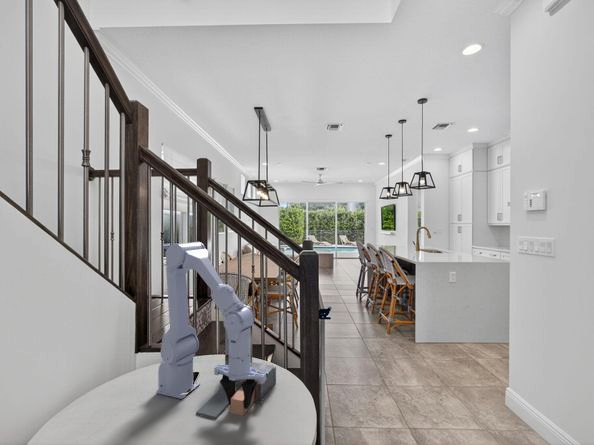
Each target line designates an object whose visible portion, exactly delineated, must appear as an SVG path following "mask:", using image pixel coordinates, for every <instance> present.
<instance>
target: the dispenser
mask: <svg viewBox="0 0 594 445" xmlns="http://www.w3.org/2000/svg"><path fill="white" fill-rule="evenodd" d="M251 368H254V369H256V370H258V371H260V372H263V373H266V381H265V382H264V383H263V384H260V383H259V382H257V384H256V399H255V402H256V401H258V402H257V403H262V401H263V400H264V399H265V397H267V395H268V394H269V392H270V391H271V389H273V387H274V386H275V384H276V383H277V365H270V364H266V363H259V362H252V363H251ZM245 381H246V379H237V380H236V392H237V391H238V390H239V389H240V388H241V387H242V384H243V383H244V382H245Z"/></svg>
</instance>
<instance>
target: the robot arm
mask: <svg viewBox="0 0 594 445" xmlns="http://www.w3.org/2000/svg"><path fill="white" fill-rule="evenodd" d="M164 253H165V262H166V263H165V267H166V268H165V270H166V271H165V273H166V286H167V288H166V290H167V302H168V303H167V304H168V318H169V320H168V321H169V329H168V330H167V331H166V332H165V334H164V336H162V337H161V343H162V344H161V347H160V358H161V362H160V363H159V367H158V372H157V373H158V375H157V376H158V378H157V379H158V389H157V390H156V394H159V395H164V396H167V397H171V398H176V399H180V400H181V399H182V400H183V399H184V398H186V397H187V396H188V395H187V394H185V395H180V394H182V393H184V392H187V391H188V390H189V389H191V388H192V387H193V382H195V384H194V388H193V389H194V390H195V389H197V386H198V385H199V386H200V385H201V384H200V382H197V381H194V358H195V356H196V353H197V351H198V350H199V347H200V342H199V338H198V336H197V330H196V328H195V327H192V326H191V325H190V317H189V316H190V314H189V301H188V299H189V298H188V285H187V284H188V282H187V273H188V272H189V271H190V270H192V271H193V270H194V271H196V272H197V273H198V275H199V276H200V278H202V280H203V281H204V283H205V284H206V285H207V286H208V287H209V289H210V290H211V299H212V300H213V302H214V304H215V305H216V307H217V309H218V310H219V312H220V313H221V314H222V316H223V318H224V320H223V327H224V328H225V329H226V331H227V337H228V339H229V365H225V364H217V365H216V366H214V368H213V375H214V376H219V375H222V378H221V379H220V381H219V383H220V385H221V388H224V390H225V392H226V395H227V399H228V402H229V405H228V406H231V398H232V397H233V396H234V394H235V393H236V380H237V379H246V381H245V382H244V383H243V384H242V388H243V392H244V408H245V409H247V408H248V407H249V406H250V404H251V399H252V395H253V392H254V389H255V387H256V384H257V382H259V383H260V384H263V383H264V382H265V381H266V373H263V372H260V371H258V370H256V369H254V368H251V327H250V326H251V325H252V326H253V324H254V323H255V321H256V320H255V319H256V317H255V313H254V310H253V308H251V307H250V306H249V305H246V304H244V303H243V302H242V301H241V300H240V298H239V297H238V296H237V294H236V293H235V289H234V288H233V287H232V286H231V285H229V284H227V283H226V284H225V283H223V281H222V280H221V278H220V276H219V274H218V272H217V270H216V269H215V267H214V266H213V264H212V262H211V260H210V258H209V250H208V249H206V246H205V244H204V243H202V242H200V241H195V242H184V243H172V244H170V245H169V247H168V248H167V249H166V251H165V252H164ZM248 327H249V328H248ZM199 386H198V387H199ZM193 389H192V390H193ZM194 390H193V391H194ZM186 395H187V396H186ZM251 405H252V404H251ZM250 407H251V406H250ZM250 407H249V408H250ZM249 408H248V409H249ZM248 409H247V410H248Z"/></svg>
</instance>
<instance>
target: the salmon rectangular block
mask: <svg viewBox="0 0 594 445" xmlns="http://www.w3.org/2000/svg"><path fill="white" fill-rule="evenodd" d="M253 401H254V402H255V401H256V387H255V389H254V392H253V395H252V399H251V404H250V405H251V406H252V404H253V403H254V402H253ZM252 402H253V403H252ZM249 408H250V407H248V408H247V409H245V408H244V392H243V388H242V387H241V388H240V389H239V390H238V391H237V392H236V393H235V394H234V396H233V397H232V398H231V405H230V413H231V414H235V415H239V416H243V415H244V414H246V412H247V411H248V409H249ZM246 410H247V411H246Z"/></svg>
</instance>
